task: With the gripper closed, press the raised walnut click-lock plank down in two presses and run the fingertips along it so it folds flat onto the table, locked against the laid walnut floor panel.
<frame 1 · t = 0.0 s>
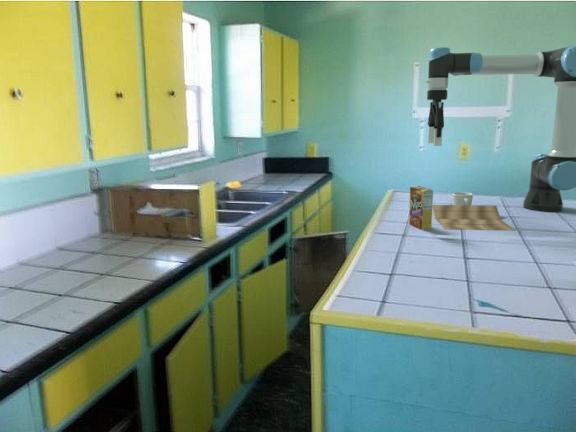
hand: (434, 144, 200), 28 cm above the table, fingers open, 13 cm apart
laid panel: (473, 227, 182), on the table
cup: (462, 214, 205), on the table
plank: (465, 213, 193), point 3 cm above the table, hinge at 30.0°
candy box: (419, 230, 180), on the table
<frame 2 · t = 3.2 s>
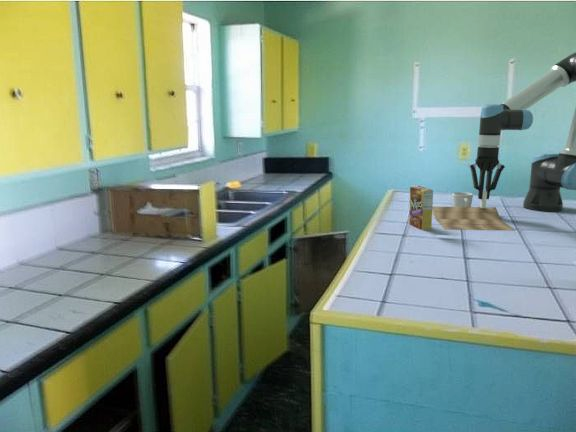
hand: (482, 207, 194), 5 cm above the table, fingers closed
plank: (465, 214, 193), point 2 cm above the table, hinge at 23.8°, touching gripper
everything else where it was.
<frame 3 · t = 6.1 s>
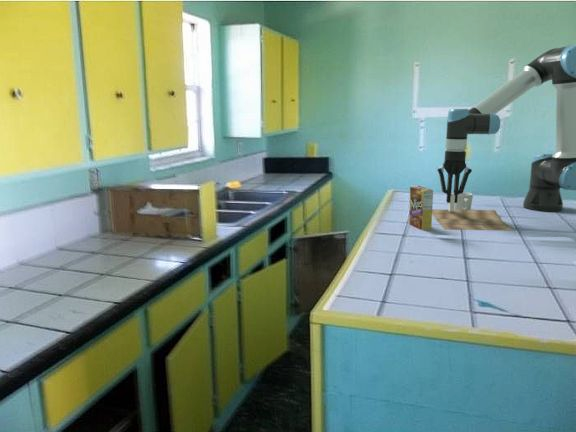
hand: (451, 210, 196), 3 cm above the table, fingers closed
plank: (465, 215, 194), point 2 cm above the table, hinge at 14.2°, touching gripper
everything else where it was.
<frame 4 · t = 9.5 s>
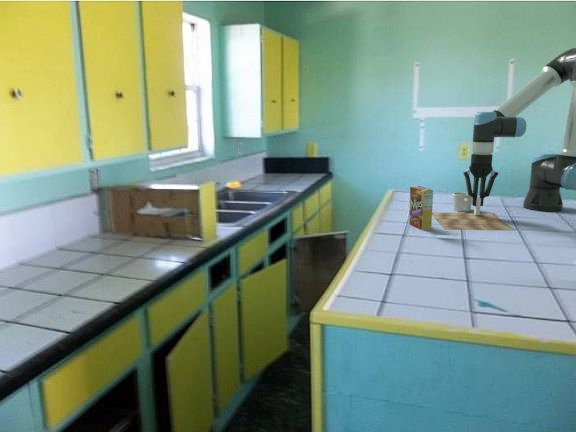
hand: (476, 214, 195), 2 cm above the table, fingers closed
plank: (465, 217, 194), point 1 cm above the table, hinge at 4.1°, touching gripper
everything else where it was.
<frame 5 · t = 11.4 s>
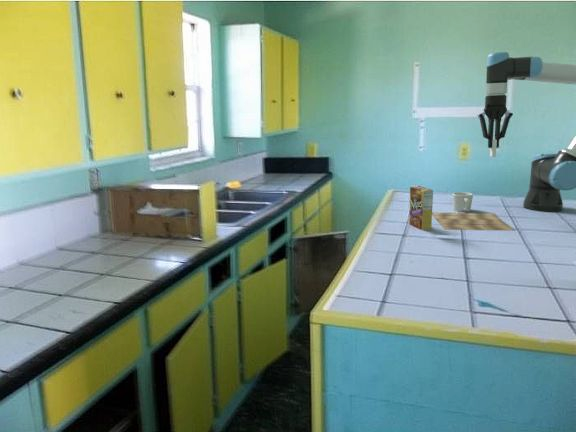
hand: (492, 156, 198), 23 cm above the table, fingers closed
plank: (465, 217, 194), point 1 cm above the table, hinge at 4.1°
everything else where it was.
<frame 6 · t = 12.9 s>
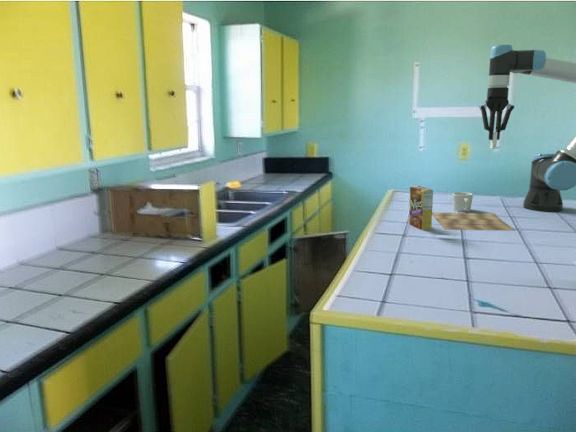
hand: (493, 148, 199), 26 cm above the table, fingers closed
nothing on the table moved.
at the end: plank at +4° (first picture: +30°) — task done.
